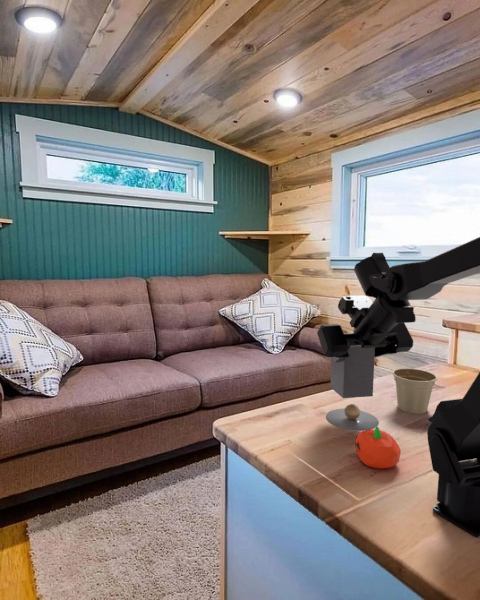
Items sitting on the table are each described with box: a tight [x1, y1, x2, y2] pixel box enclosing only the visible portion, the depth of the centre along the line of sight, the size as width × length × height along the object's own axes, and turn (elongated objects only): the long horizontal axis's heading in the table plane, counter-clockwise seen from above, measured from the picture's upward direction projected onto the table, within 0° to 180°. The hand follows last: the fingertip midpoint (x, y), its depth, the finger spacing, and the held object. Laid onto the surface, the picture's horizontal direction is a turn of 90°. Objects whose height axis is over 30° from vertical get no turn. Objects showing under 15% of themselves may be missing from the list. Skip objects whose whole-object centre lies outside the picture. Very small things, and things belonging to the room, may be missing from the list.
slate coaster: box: [325, 408, 380, 432], centre depth 86 cm, size 11×11×1 cm
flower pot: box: [392, 367, 438, 415], centre depth 92 cm, size 9×9×9 cm
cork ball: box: [344, 403, 361, 420], centre depth 86 cm, size 3×3×3 cm
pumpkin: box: [354, 426, 402, 470], centre depth 69 cm, size 7×8×6 cm
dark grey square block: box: [330, 332, 375, 399], centre depth 85 cm, size 6×6×12 cm
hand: (349, 359), depth 86 cm, fingers closed on dark grey square block, 7 cm apart
